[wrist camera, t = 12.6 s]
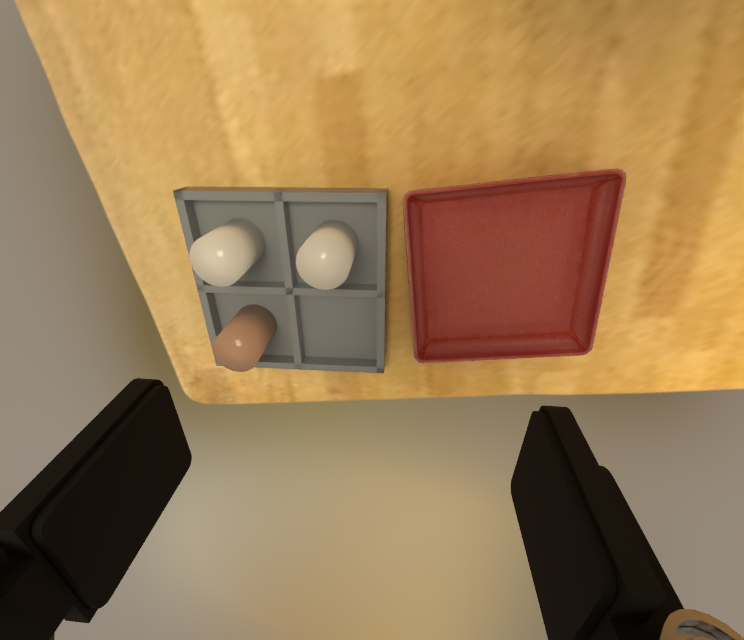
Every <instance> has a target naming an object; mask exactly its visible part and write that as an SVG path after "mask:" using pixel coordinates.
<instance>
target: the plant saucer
mask: <svg viewBox="0 0 744 640" xmlns="http://www.w3.org/2000/svg"><path fill="white" fill-rule="evenodd" d="M625 184H626V174H625V172H624V171H623V170H622V169H608V170H599V171H589V172H578V173H570V174H559V175H550V176H540V177H530V178H523V179H514V180H505V181H496V182H487V183H479V184H470V185H461V186H451V187H442V188H432V189H423V190H414V191H409V192H408V193H406V194H405V196H404V198H403V211H404V223H405V237H406V249H407V262H408V275H409V289H410V303H411V316H412V329H413V346H414V356H415V359H416V360H417V361H418V362H419V363H433V362H454V361H475V360H497V359H516V358H534V357H556V356H578V355H585V354H587V353H589V352H590V351H591V350H592V348H593V343H594V338H595V333H596V328H597V323H598V317H599V312H600V308H601V303H602V297H603V292H604V287H605V282H606V278H607V272H608V268H609V262H610V257H611V252H612V247H613V243H614V237H615V232H616V227H617V223H618V217H619V213H620V208H621V203H622V197H623V193H624V188H625Z"/></svg>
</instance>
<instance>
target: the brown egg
mask: <svg viewBox="0 0 744 640" xmlns="http://www.w3.org/2000/svg"><path fill="white" fill-rule="evenodd" d="M276 330H277V321H276V319H275V317H274V315H273V314H272V313H271V312H270V311H269V310H268V309H267V308H265V307H263V306H260V305H255V304H251V305H246V306H244V307H242V308H241V309H240V310H239V311H238V313H237V314H236V315H235V316H234V317H233V318H232V320H231V321H230V322H229V323H228V324H227V325H226V327H225V328H224V329H223V330H222V331H221V332H220V334H219V335H218V336H217V337H216V338H215V340H214V342H213V345H212V350H213V354H214V356H215V358H216V359H217V361H218V362H219V363H220V364H222V365H223V366H224V367H226V368H228V369H230V370H233V371H238V372H243V371H248V370H250V369H252V368H253V367H255V365H256V364H257V362H258V361H259V359H260V357H261V356H262V354H263V352H264V351H265V349H266V347H267V346H268V344H269V342H270V341H271V339H272V338H273V336H274V334H275V333H276Z"/></svg>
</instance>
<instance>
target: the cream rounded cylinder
mask: <svg viewBox="0 0 744 640" xmlns="http://www.w3.org/2000/svg"><path fill="white" fill-rule="evenodd" d="M357 250H358V239H357V236H356V234H355V232H354V230H353V229H352V228H351V227H350V226H349V225H348V224H346V223H344V222H342V221H339V220H327V221H324V222H322V223H321V224H319V225H318V226H317V227H316V229H315V230H314V231H313V232H312V234H311V235H310V236H309V237H308V239H307V240H306V241H305V242H304V244H303V245H302V246H301V247H300V249H299V251H298V253H297V256H296V267H297V270H298V273H299V275H300V276H301V278H302V279H303V280H304V281H305V282H306V283H307V284H309V285H310V286H312V287H314V288H317V289H321V290H329V289H334V288H336V287H338V286H340V285H341V284H342V283H343V282H344V281H345V280H346V279H347V277H348V275H349V272H350V269H351V266H352V264H353V261H354V258H355V255H356V253H357Z"/></svg>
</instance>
